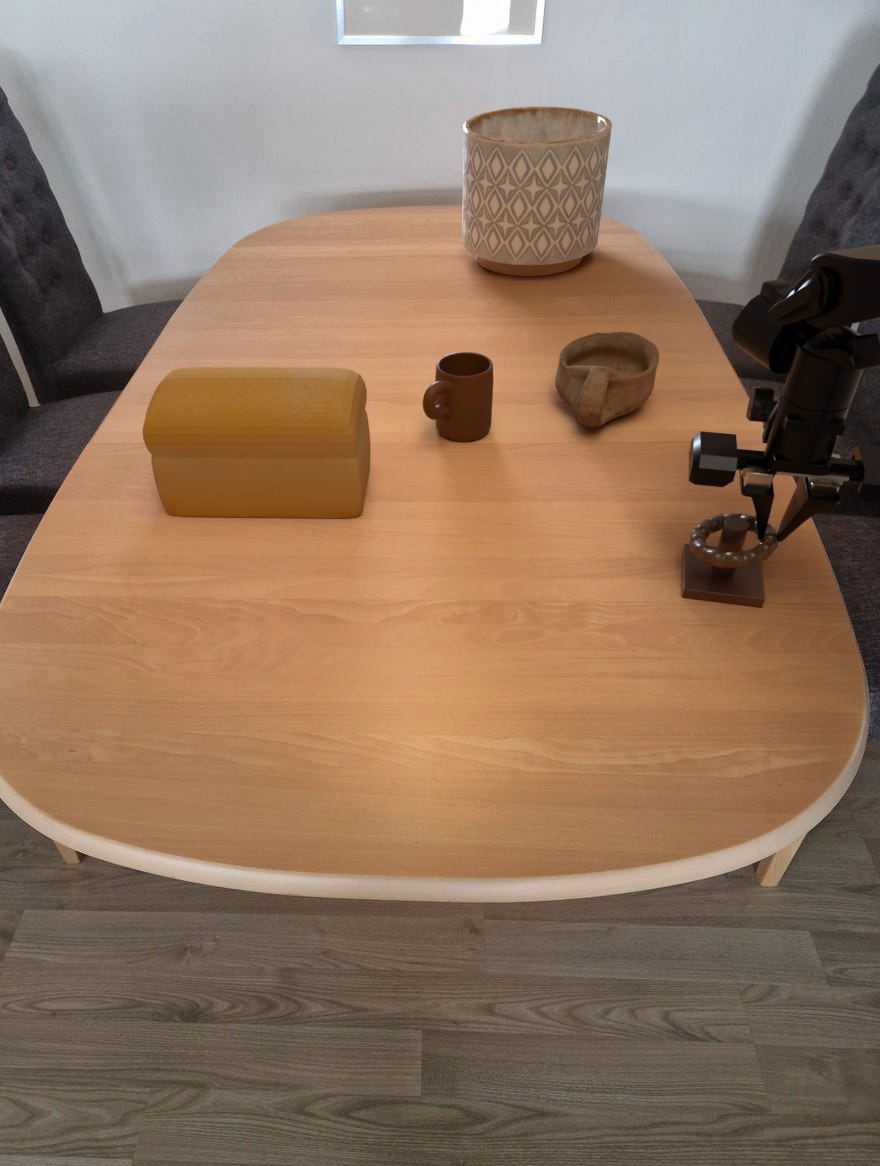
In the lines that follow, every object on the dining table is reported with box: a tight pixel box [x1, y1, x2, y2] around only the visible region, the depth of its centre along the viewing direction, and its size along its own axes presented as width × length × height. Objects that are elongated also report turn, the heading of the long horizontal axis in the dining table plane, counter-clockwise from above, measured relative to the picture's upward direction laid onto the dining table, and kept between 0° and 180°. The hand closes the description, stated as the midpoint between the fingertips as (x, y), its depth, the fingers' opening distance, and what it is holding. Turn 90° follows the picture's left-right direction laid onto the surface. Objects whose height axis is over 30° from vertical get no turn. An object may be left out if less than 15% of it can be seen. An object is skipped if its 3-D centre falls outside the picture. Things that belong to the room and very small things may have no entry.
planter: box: [461, 106, 613, 277], centre depth 152 cm, size 26×26×22 cm
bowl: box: [554, 331, 660, 428], centre depth 113 cm, size 18×14×10 cm
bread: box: [142, 366, 371, 519], centre depth 100 cm, size 24×13×15 cm, turn 86°
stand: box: [681, 517, 766, 609], centre depth 87 cm, size 8×8×7 cm
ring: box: [689, 512, 779, 569], centre depth 86 cm, size 8×8×2 cm
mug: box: [422, 351, 494, 443], centre depth 110 cm, size 12×8×9 cm, turn 140°
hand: (769, 538), depth 85 cm, fingers closed on ring, 1 cm apart
